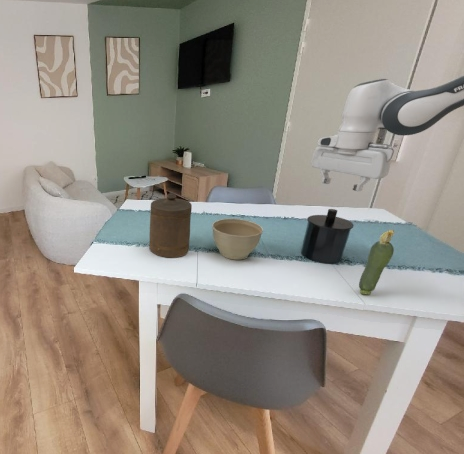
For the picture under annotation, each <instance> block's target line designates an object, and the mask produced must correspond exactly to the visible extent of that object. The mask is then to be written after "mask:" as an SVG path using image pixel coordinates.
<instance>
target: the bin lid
mask: <svg viewBox="0 0 464 454" xmlns="http://www.w3.org/2000/svg"><path fill="white" fill-rule="evenodd" d="M337 214H338V210H337V209H336V208H335V209H334V208H329V209H328V210H327V213H326V214H313V215H309V216H308V217H307V218H306V220H307V223H308V222H309V223H311V224H312V225H315V226H318V227H321V228H325V229H331V230H349V229H351V230H352V229H353V228H354V226H355V224H354V223H353V222H352V221H351V220H348V219H345V218H342V217H339V216H337Z"/></svg>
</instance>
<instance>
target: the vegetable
mask: <svg viewBox="0 0 464 454" xmlns="http://www.w3.org/2000/svg"><path fill="white" fill-rule="evenodd" d="M394 233H395V230H394V229H390V230H386V231H384V232H383V233H382V234H381V235H380V237H379V241H376V242H374V244H373V245H371V247H370V249H369V253H368V256H367V261H366V264H365V267H364V268H363V271H362V273H361V276H360V279H359V282H358V288H359V289H360V290H359V291H360V294H361V295H370V294H371V293H372V292H373V291H375V289H376V287H377V285H378V282H379V281H380V278H381V276H382V273H383V271H384V270H385V268H386V267H387V265H388V264H389V263H390V261H391V260H392V257H393V255H394V252H395V251H394V250H395V249H394V246H393V244H392V243H391V241H392V237H394Z"/></svg>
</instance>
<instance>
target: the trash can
mask: <svg viewBox="0 0 464 454" xmlns="http://www.w3.org/2000/svg"><path fill="white" fill-rule="evenodd" d="M351 231H352V229H349V230H331V229H325V228H321V227H318V226H315V225H312V224H311V223H309V222H308V221H307V225H306V229H305V232H304V236H303V240H302V245H301V248H300V254H301V255H302V257H304V258H306V259H308V260H310V261H312V262H315V263H318V264H319V263H320V264H325V265H335V264H338V263H340V262H341V260H342V258H343V255H344V253H345V249H346V247H347V242H348V239H349V236H350V233H351Z"/></svg>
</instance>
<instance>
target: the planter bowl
mask: <svg viewBox="0 0 464 454" xmlns="http://www.w3.org/2000/svg"><path fill="white" fill-rule="evenodd" d="M211 228H212V237H213V241H214V244H215V246H216V247H217V249H218V251H219V255H221V256H222V257H224V258H226V259H229V260H235V261H236V260H237V261H238V260H244V259H247V258H248V256H249V254H251V253H252V252H253V251H254V250H255V249H256V248H257V246H258V245H259V243H260V241H261V239H262V234H263V232H264V228H263V227H262V226H261V225H260V224H258V223H256V222H253V221H250V220H246V219H241V218H221V219H217V220H216V221H214V222H213V223H212V226H211Z"/></svg>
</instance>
